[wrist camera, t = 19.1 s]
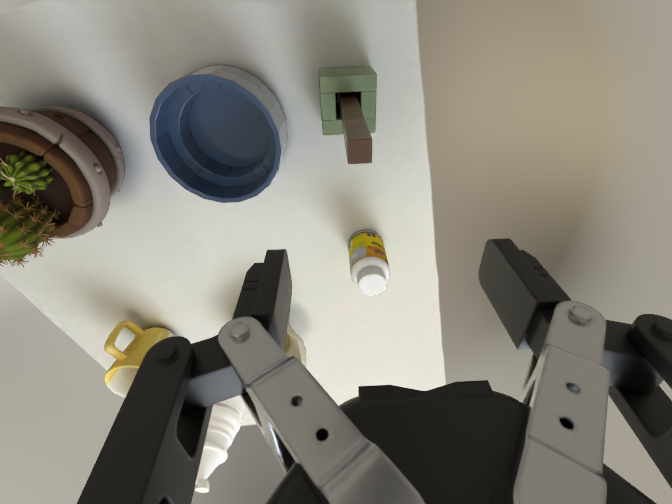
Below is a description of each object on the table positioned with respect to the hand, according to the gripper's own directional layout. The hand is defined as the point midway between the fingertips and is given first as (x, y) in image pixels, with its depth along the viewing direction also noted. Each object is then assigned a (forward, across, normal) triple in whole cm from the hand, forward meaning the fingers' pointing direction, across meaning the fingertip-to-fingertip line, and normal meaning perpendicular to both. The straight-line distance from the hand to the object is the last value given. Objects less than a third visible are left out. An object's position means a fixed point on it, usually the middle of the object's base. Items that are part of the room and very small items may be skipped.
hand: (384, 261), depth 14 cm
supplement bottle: (+34, -2, +22) cm, 40 cm away
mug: (+34, +38, +40) cm, 64 cm away
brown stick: (+33, 0, 0) cm, 33 cm away
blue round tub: (+33, +14, +3) cm, 36 cm away
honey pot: (+33, +32, +66) cm, 81 cm away
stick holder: (+33, 0, 0) cm, 33 cm away
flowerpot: (+34, +34, +5) cm, 48 cm away
